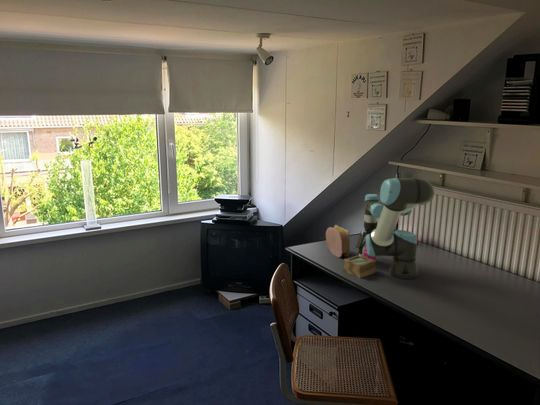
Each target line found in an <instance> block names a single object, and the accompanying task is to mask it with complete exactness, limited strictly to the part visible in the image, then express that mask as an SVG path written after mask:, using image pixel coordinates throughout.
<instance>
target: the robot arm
mask: <svg viewBox="0 0 540 405" xmlns="http://www.w3.org/2000/svg"><path fill="white" fill-rule="evenodd" d="M434 196H435V189H434V186H433V184H432V183H431V182H429V180H427V179H424V178H420V177H419V178H417V177H416V178H396V177H393V178H387V179H385V180H384V181H383V182H382V184H381V186H380V192H379V195H378V194H376V193H369V194H368V193H367V194H366V195H365V196H364V215H363V216H364V219H363V220H364V221H363V228H364V231H363V230H361V231H360V233H359V237H358V240H357V243H356V245H355V248H356V249H358V255H360V256H364V249H363V247H364V245H365V243H366V248H367V253H368V255H369V256H375V257H376V258H377V257H392V259H391V263H390V265H389V267H388V274H389V275H390V276H392V277H394V278H397V279H401V280H403V279H404V280H410V279H411V280H412V279H413V280H414V279H416V278H418V277H419V272H420V271H419V268H418V264H417V252H418V251H417V248H418V236H417V235H416V233H414V232H411V231H407V230H404V229H403V230H402V229H396V227H397V224H398V222H399V219H400V217H401V216H403V217H405V216H411V214H412V210H414V209H415V208H417V207H419V206H421V205H422V206H424V205H427V204H428V203H430V202H431V201H433V199H434Z"/></svg>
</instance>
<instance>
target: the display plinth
mask: <svg viewBox="0 0 540 405" xmlns="http://www.w3.org/2000/svg"><path fill="white" fill-rule="evenodd" d="M376 264H377V260H376V261H374V260H372V259H369V258H366V257H363V256H360V255H359V254H358V255H357V254H356V255H355V256H351V257H348V258H344V259H343V272H344V273H346V274H349V275H352V276H353V277H356V278H359V279H361V278H364V277H367V276H370V275H373V274H375V273H376V268H377V266H376Z"/></svg>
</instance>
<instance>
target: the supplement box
mask: <svg viewBox="0 0 540 405" xmlns="http://www.w3.org/2000/svg"><path fill="white" fill-rule="evenodd" d="M363 249H364V256H363V257H366V258H369V259H372V260H374V261H376V262H377V256H376V257H375V256H369V255H368V253H367V248H366V243H365V245H364V247H363Z"/></svg>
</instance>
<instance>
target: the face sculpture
mask: <svg viewBox="0 0 540 405" xmlns="http://www.w3.org/2000/svg"><path fill="white" fill-rule="evenodd" d="M325 240H326V246H327V249H328V250H329V252H330V253H331V254H332V255H334V256H336V257H337V258H339V259H340V258H341V257H348V256H349V254H350V250H351V239H350V231H349V230H348V229H345V228H344V227H341V226H338V224H334V226H333V227H331V226H330V227H328V228H327V229H326V232H325Z"/></svg>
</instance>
